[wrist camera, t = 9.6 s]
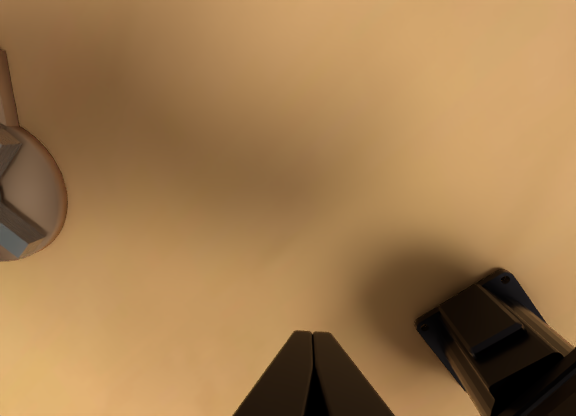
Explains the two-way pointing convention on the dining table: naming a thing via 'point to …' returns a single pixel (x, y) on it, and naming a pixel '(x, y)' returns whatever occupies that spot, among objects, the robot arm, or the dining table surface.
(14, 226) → the turnstile
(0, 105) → the stand
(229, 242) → the dining table surface
